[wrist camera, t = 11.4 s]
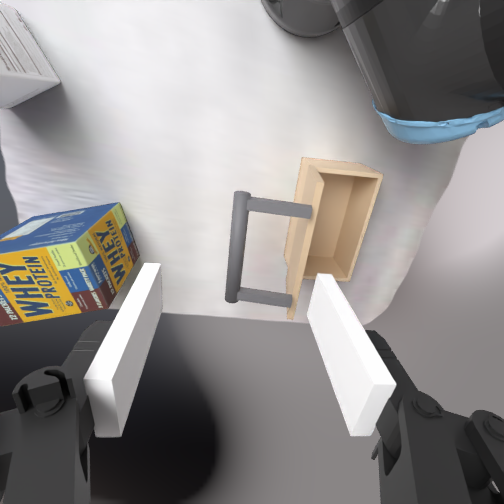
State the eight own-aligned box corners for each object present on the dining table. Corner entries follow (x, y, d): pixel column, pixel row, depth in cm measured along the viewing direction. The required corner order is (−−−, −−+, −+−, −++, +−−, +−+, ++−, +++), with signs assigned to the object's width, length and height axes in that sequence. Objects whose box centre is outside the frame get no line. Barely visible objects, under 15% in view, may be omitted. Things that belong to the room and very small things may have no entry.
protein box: (141, 255, 52) (110, 309, 39) (58, 269, 53) (-2, 328, 39) (120, 200, 48) (76, 240, 34) (29, 215, 48) (-52, 262, 34)
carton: (301, 157, 46) (314, 167, 39) (360, 163, 47) (383, 174, 40) (283, 255, 54) (291, 278, 47) (334, 258, 56) (349, 281, 48)
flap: (314, 165, 39) (246, 156, 39) (326, 185, 29) (234, 173, 29) (290, 279, 47) (235, 271, 48) (293, 326, 37) (222, 315, 37)
